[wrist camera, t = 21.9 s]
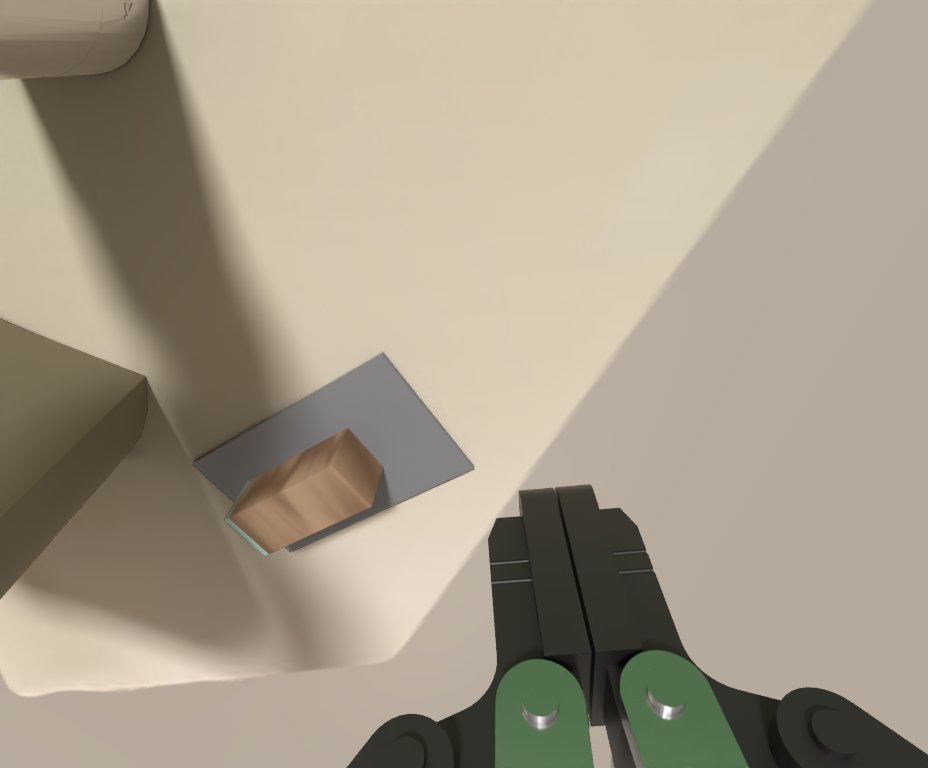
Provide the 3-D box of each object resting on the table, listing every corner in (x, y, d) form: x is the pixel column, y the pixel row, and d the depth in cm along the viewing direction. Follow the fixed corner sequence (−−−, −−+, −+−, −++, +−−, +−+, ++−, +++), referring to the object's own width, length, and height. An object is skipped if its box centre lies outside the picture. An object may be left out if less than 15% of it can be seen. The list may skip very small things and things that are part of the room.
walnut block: (383, 466, 44) (283, 515, 48) (347, 427, 42) (247, 481, 46) (371, 506, 40) (264, 556, 44) (332, 465, 38) (223, 520, 42)
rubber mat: (291, 549, 50) (289, 552, 50) (194, 461, 46) (191, 464, 45) (473, 465, 44) (473, 468, 43) (383, 352, 39) (382, 355, 38)
